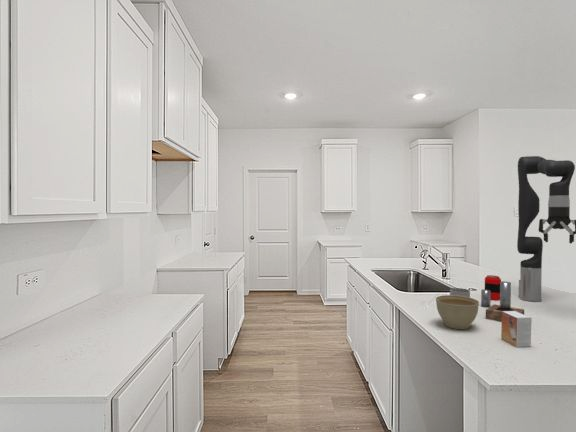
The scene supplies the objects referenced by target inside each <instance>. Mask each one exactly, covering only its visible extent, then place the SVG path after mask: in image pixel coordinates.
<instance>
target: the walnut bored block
mask: <svg viewBox="0 0 576 432" xmlns="http://www.w3.org/2000/svg"><path fill="white" fill-rule="evenodd" d="M511 311H517V312H519V313H521V314H523V315H525V309H524V308H520V307H519V308H518V307H512V306H511ZM485 320H490V321H496V322H501V323H502V311H500V304H495V303H493V304H491V306H490V307H489V308H486V309H485Z"/></svg>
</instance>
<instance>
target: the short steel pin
mask: <svg viewBox="0 0 576 432" xmlns="http://www.w3.org/2000/svg"><path fill="white" fill-rule="evenodd" d="M480 296H481V297H480V300H481V301H480V302H481V303H480V307H482V308H486V309H487V308H489V307H490V306H492V304H491V302H492V300H491V291H490V290H486V289H485V288H483V289H481V294H480Z"/></svg>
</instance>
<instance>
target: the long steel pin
mask: <svg viewBox="0 0 576 432" xmlns="http://www.w3.org/2000/svg"><path fill="white" fill-rule="evenodd" d="M511 297H512V282H510V281H504V280H503V281H502V280H501V282H500V300H499V305H500V311H511V307H512V305H511V304H512V303H511V302H512V301H511V299H512V298H511Z"/></svg>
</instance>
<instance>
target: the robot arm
mask: <svg viewBox="0 0 576 432" xmlns="http://www.w3.org/2000/svg"><path fill="white" fill-rule="evenodd" d="M575 170H576V166H575V163H574V162H573V161H571V160H556V159H555V160H554V159H546V158H544V157H542V156H539V155H533V156H532V155H529V156H528V155H527V156H521V157H519V158H518V161H517V175H518V176H517V177H518V200H517V202H518V203H517V204H518V207H517V209H518V230H517V243H516V244H517V245H516V246H517V247H516V248H517V252H518V253H519V254H523V255H533V256H532V257H529V258H528V259H523V260H521V261H520V265H519V267H520V272H519V275H520V278H519V280H518V298H519V299H520V300H522V301H527V302H535V303H536V302H538V303H539V302H542V270H543V269H542V264H543V263H542V262H543V260H542V259H543V248H544V243H548V242H549V232H550V231H551V230H552V229H554V230H565V231H567V233H568V234H569V235H568V237H569V239H568V240H569V241H568V243H569V244H573V243H574V242H575V235H576V219H571V217H570V213H571V212H570V211H571V210H570V207H571V199H570V185H571V181H572V177H573V176H574V173H575ZM536 174H542V175H545V176H546V177H547V178H548V177H549V178H557V177H559V178H560V177H561V179H560V180H559V181H555V182H551V183H550V184H549V185H548V186H549V187H548V189H549V191H548V202H547V203H548V204H547V207H548V208H547V209H548V212H547V215H548V216H547V219H545V218H540V219H539V221H538V222H539V223H538V232H539V233H541V234H543V239H542V237H541V236H526V234H527V232H528V229H529V228H530V225H531V224H532V223H533V221H534V220H536V218H537V216H538V215H539V213H540V205H541V204H540V202H541V201H540V200H541V199H540V197H539V195H538V194H537V192H536V191H535V190H534V189H533V187H532V186H531V184H530V182H529V179H528V175H536ZM546 223H547V224H548V226H547V227H546V229H544V225H545V224H546ZM571 223H572V225H574V231H573V230H572V228H571V227H570V226H569V225H570V224H571ZM543 241H544V243H543Z"/></svg>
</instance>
